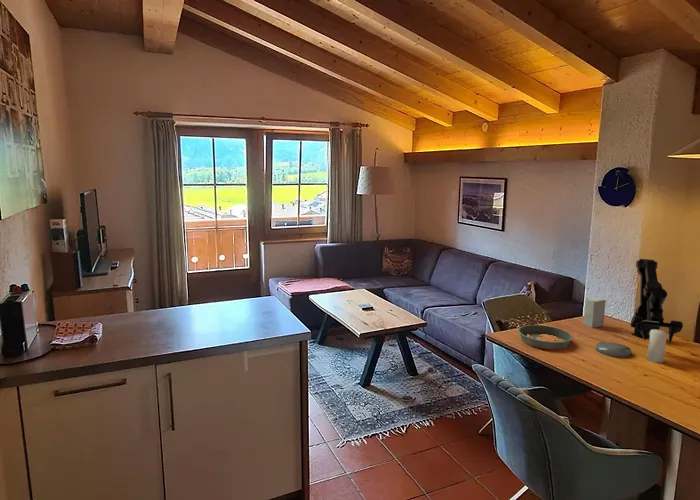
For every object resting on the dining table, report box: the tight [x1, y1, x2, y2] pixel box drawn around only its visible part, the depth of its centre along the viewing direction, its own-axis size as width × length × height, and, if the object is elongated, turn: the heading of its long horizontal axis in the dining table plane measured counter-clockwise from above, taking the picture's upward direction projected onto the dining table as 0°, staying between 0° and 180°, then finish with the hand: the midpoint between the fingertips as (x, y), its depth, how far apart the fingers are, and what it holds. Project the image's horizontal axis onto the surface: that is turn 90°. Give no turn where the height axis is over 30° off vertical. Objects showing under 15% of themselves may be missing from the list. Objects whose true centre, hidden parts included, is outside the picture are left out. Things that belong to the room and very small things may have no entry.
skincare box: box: [583, 296, 607, 329], centre depth 245 cm, size 8×6×15 cm
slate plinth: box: [595, 341, 632, 359], centre depth 210 cm, size 14×14×2 cm
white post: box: [646, 329, 668, 364], centre depth 199 cm, size 6×6×13 cm
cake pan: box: [517, 324, 574, 350], centre depth 222 cm, size 25×25×4 cm
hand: (657, 341), depth 199 cm, fingers open, 9 cm apart
